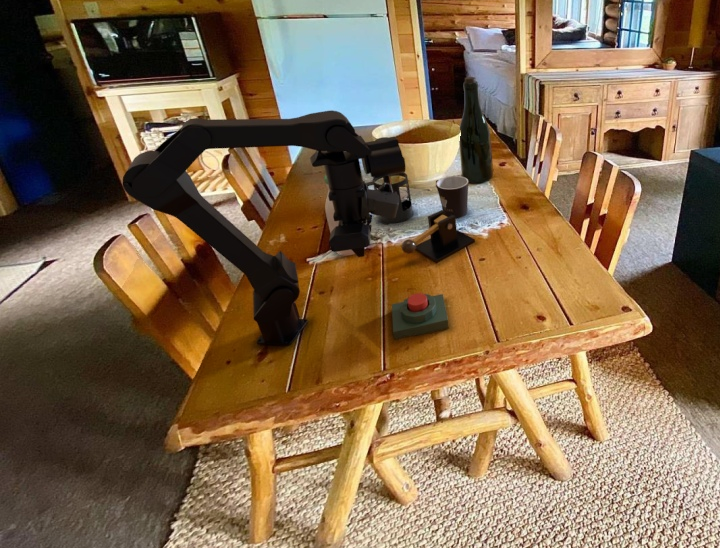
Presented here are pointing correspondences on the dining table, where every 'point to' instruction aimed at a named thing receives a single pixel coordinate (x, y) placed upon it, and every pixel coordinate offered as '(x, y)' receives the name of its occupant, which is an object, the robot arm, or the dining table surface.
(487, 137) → the wine bottle
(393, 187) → the french press
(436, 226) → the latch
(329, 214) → the milk bottle
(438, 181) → the coffee mug
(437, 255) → the lever switch
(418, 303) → the button
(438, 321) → the button box
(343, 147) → the robot arm
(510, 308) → the dining table surface
